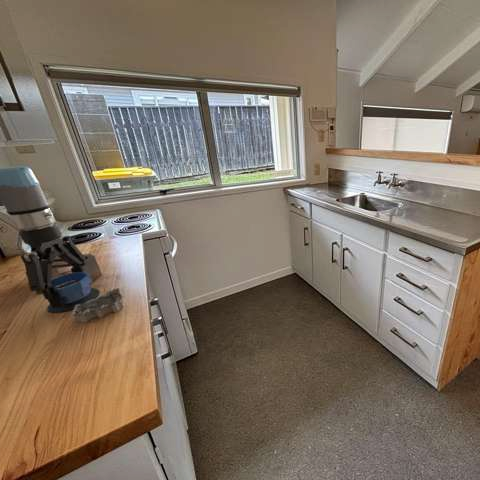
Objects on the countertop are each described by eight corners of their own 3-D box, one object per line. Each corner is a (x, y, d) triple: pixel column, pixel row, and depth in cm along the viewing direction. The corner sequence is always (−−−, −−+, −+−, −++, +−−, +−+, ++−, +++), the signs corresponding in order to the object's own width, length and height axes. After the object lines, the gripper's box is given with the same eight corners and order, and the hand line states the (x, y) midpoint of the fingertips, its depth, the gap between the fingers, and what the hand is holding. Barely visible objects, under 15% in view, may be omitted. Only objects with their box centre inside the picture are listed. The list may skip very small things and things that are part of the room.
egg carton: (125, 298, 78) (120, 286, 77) (124, 311, 72) (119, 298, 71) (79, 311, 73) (73, 299, 71) (74, 326, 67) (68, 313, 65)
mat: (35, 315, 72) (35, 314, 72) (67, 291, 83) (67, 290, 83) (83, 309, 73) (82, 308, 73) (108, 286, 84) (107, 286, 84)
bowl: (40, 308, 72) (30, 292, 70) (66, 288, 82) (59, 273, 79) (80, 304, 74) (72, 287, 71) (101, 284, 83) (95, 270, 81)
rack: (37, 294, 82) (23, 269, 79) (58, 279, 90) (47, 256, 87) (85, 288, 84) (74, 264, 80) (102, 274, 92) (92, 252, 89)
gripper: (14, 241, 59) (57, 318, 68) (82, 213, 80) (108, 274, 88) (-24, 244, 58) (24, 322, 67) (55, 215, 79) (84, 277, 87)
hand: (72, 295), depth 77 cm, fingers closed on bowl, 10 cm apart
